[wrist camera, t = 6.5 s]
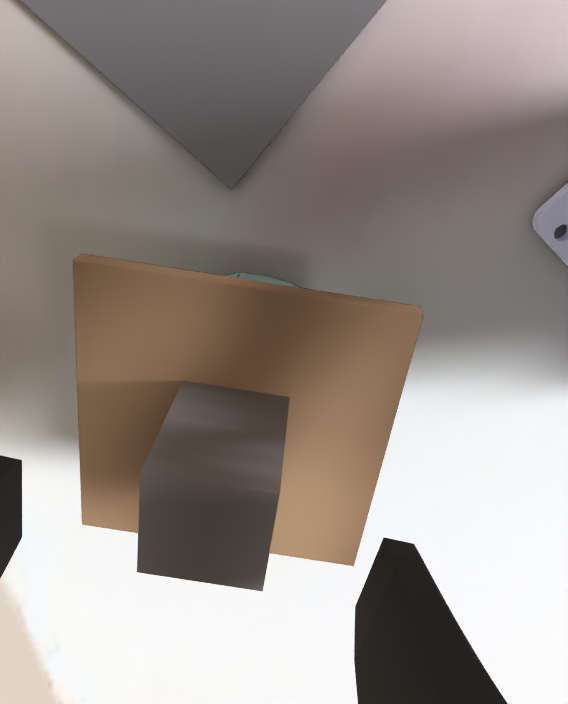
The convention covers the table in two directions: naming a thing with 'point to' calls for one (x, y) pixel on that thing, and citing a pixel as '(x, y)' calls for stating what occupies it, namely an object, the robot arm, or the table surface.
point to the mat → (212, 63)
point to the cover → (232, 415)
